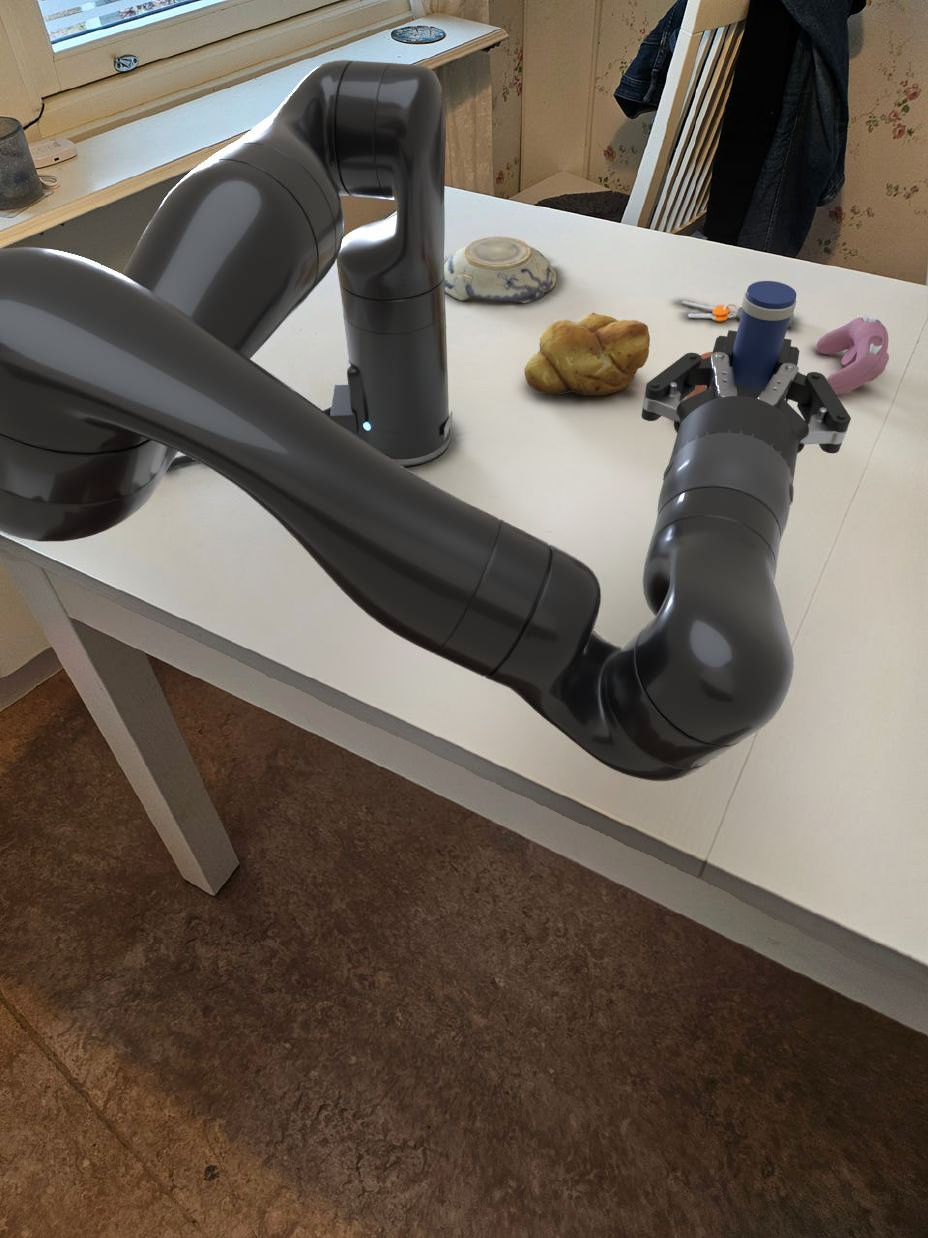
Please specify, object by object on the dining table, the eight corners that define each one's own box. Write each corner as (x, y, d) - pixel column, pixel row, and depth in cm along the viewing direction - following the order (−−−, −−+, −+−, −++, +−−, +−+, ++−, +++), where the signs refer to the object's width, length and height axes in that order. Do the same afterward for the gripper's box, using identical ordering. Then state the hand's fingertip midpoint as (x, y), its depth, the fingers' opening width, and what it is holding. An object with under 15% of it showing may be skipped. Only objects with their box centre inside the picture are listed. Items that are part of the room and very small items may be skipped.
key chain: (791, 315, 104) (794, 303, 103) (791, 330, 102) (794, 319, 100) (681, 303, 106) (683, 291, 105) (678, 318, 104) (681, 306, 103)
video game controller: (851, 412, 93) (903, 363, 88) (817, 392, 92) (867, 341, 87) (843, 363, 99) (891, 315, 94) (811, 344, 99) (858, 294, 93)
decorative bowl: (414, 278, 112) (495, 319, 104) (413, 249, 109) (496, 289, 101) (498, 243, 119) (580, 279, 111) (499, 215, 116) (582, 250, 108)
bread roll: (529, 410, 91) (533, 341, 85) (515, 361, 98) (517, 293, 92) (649, 400, 92) (660, 331, 86) (626, 352, 99) (636, 285, 93)
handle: (710, 475, 67) (752, 304, 57) (701, 448, 69) (740, 280, 59) (754, 474, 67) (804, 303, 57) (744, 447, 69) (790, 279, 59)
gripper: (606, 511, 57) (654, 374, 68) (828, 557, 54) (841, 406, 65) (620, 414, 52) (669, 283, 63) (868, 459, 49) (875, 312, 60)
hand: (757, 346), depth 64 cm, fingers closed on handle, 3 cm apart
